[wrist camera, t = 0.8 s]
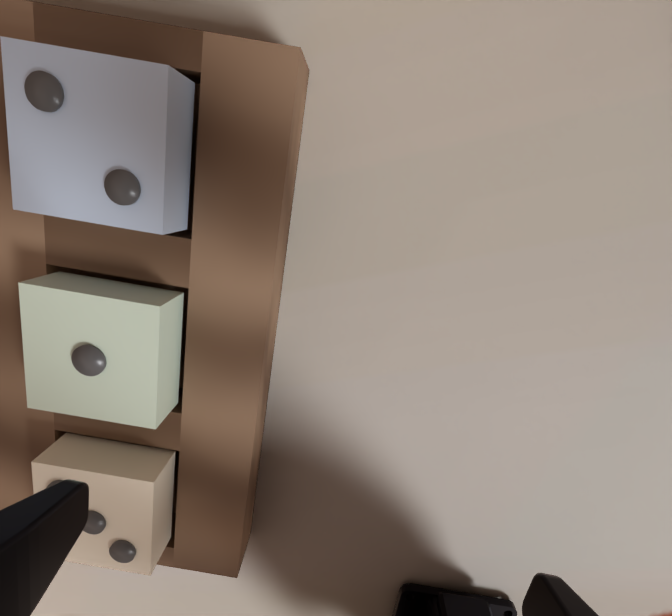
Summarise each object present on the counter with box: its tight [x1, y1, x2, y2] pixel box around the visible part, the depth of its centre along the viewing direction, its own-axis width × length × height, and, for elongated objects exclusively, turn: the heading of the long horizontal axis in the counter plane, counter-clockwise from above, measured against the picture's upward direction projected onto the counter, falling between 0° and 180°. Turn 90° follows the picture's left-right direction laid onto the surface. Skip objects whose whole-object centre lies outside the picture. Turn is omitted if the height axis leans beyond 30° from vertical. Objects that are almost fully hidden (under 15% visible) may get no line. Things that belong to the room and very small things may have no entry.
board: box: [0, 0, 309, 578], centre depth 17 cm, size 23×12×2 cm, turn 171°
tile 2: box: [0, 36, 195, 235], centre depth 13 cm, size 5×5×2 cm
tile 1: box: [18, 271, 184, 429], centre depth 15 cm, size 5×5×2 cm
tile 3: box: [31, 433, 175, 576], centre depth 17 cm, size 5×5×2 cm
